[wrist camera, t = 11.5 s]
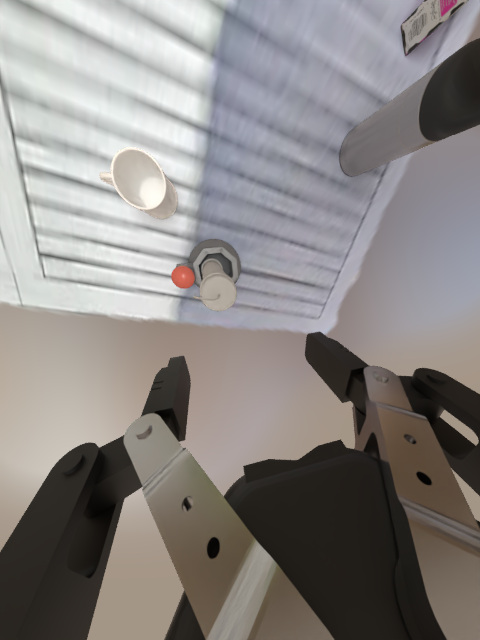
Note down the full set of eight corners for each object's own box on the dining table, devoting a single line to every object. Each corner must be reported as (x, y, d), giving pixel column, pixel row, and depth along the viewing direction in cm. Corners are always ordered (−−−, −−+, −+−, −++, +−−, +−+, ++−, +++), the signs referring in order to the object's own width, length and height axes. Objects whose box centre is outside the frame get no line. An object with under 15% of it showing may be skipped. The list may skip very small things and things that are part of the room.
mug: (119, 207, 38) (85, 194, 27) (119, 159, 34) (80, 123, 24) (175, 223, 41) (165, 218, 30) (179, 181, 38) (169, 158, 27)
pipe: (216, 282, 47) (233, 337, 21) (195, 271, 45) (183, 318, 19) (225, 263, 46) (256, 299, 19) (203, 251, 43) (204, 272, 17)
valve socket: (237, 236, 44) (245, 236, 36) (241, 288, 51) (249, 298, 42) (171, 242, 42) (162, 243, 34) (184, 296, 48) (179, 308, 40)
